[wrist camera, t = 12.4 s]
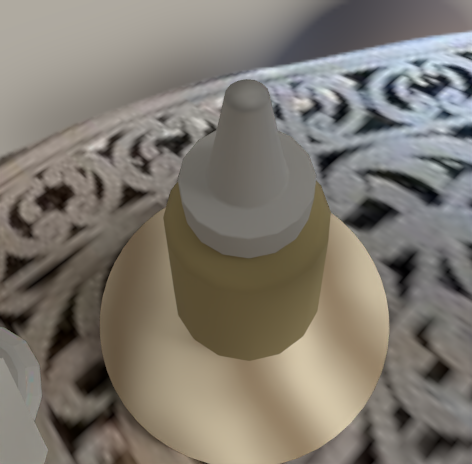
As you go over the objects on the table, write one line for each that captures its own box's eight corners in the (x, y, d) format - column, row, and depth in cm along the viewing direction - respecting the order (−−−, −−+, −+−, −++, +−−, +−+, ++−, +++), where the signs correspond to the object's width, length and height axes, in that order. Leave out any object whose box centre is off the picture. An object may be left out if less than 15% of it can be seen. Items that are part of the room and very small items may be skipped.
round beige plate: (315, 168, 34) (328, 114, 28) (435, 404, 26) (485, 390, 20) (85, 236, 31) (52, 191, 26) (140, 517, 24) (109, 535, 18)
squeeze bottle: (276, 229, 30) (311, -34, 14) (335, 338, 26) (476, 158, 10) (164, 275, 28) (56, 43, 12) (211, 396, 25) (148, 294, 9)
